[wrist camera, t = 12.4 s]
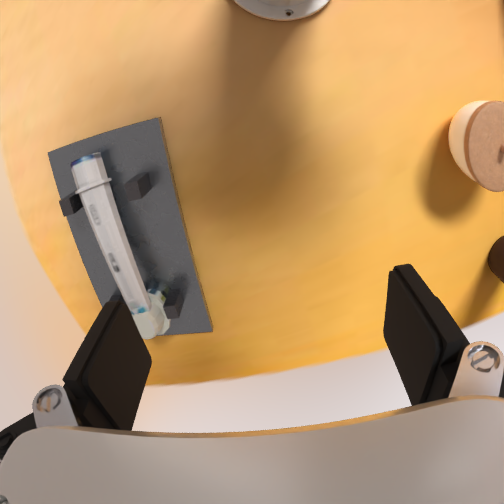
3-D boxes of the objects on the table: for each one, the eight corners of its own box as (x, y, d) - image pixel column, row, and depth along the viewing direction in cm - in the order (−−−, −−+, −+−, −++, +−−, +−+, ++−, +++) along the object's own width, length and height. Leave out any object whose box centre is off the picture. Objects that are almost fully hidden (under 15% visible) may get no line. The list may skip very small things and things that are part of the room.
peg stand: (51, 151, 35) (30, 159, 31) (160, 117, 34) (147, 120, 29) (118, 333, 49) (109, 354, 44) (213, 326, 47) (209, 350, 43)
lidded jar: (458, 79, 30) (503, 82, 22) (504, 130, 32) (547, 145, 24) (420, 143, 35) (461, 159, 26) (470, 189, 37) (510, 214, 28)
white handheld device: (93, 151, 31) (168, 349, 38) (119, 148, 37) (180, 322, 45) (58, 168, 31) (133, 354, 39) (86, 162, 38) (148, 327, 45)
